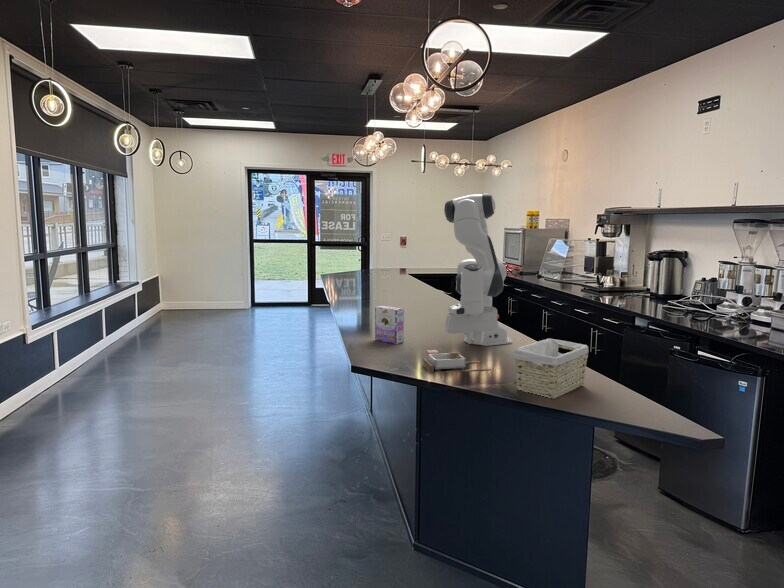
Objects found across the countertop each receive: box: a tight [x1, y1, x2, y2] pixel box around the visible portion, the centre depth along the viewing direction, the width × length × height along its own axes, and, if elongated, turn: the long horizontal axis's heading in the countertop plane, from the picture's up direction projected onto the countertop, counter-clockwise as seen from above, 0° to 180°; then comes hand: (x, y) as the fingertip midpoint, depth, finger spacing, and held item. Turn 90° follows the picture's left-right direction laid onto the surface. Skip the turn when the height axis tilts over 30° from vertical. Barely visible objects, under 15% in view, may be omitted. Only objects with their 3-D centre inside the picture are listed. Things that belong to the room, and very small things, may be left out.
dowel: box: [448, 351, 460, 359], centre depth 197 cm, size 4×4×4 cm
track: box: [422, 358, 492, 374], centre depth 197 cm, size 24×13×4 cm, turn 103°
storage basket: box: [513, 338, 589, 400], centre depth 177 cm, size 24×16×15 cm
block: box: [425, 349, 440, 360], centre depth 208 cm, size 4×4×5 cm
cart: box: [428, 352, 467, 372], centre depth 196 cm, size 12×9×5 cm
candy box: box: [374, 305, 405, 345], centre depth 243 cm, size 14×6×16 cm, turn 47°
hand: (471, 343), depth 198 cm, fingers closed
